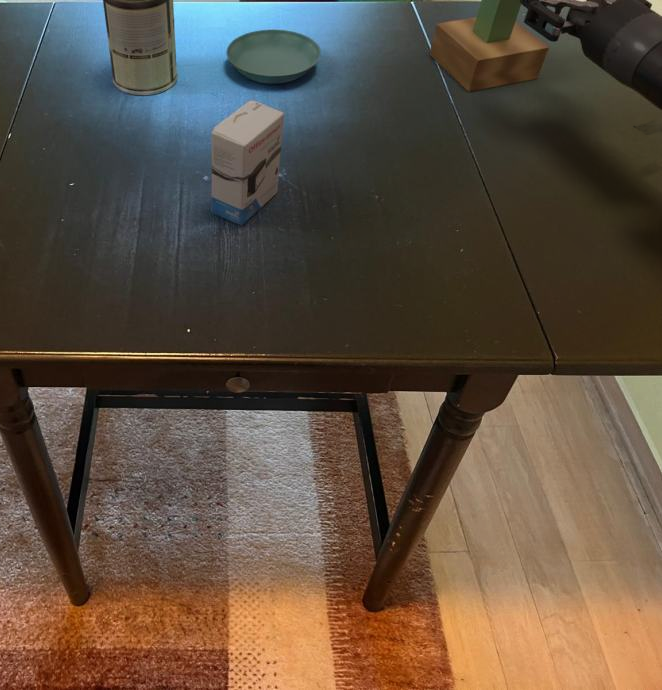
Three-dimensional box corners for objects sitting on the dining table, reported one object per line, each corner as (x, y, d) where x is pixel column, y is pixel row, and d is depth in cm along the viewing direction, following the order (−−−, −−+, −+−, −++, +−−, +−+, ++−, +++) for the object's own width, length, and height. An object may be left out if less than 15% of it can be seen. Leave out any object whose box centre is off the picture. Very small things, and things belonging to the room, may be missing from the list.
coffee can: (101, 72, 109) (88, -21, 98) (159, 56, 112) (153, -36, 101) (129, 103, 103) (119, 7, 92) (189, 84, 106) (186, -10, 95)
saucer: (292, 37, 115) (293, 21, 113) (336, 79, 106) (338, 62, 104) (211, 55, 112) (211, 39, 110) (250, 100, 103) (250, 83, 101)
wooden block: (494, 42, 113) (503, 12, 109) (537, 78, 106) (549, 47, 102) (428, 54, 111) (436, 23, 107) (468, 92, 104) (478, 60, 100)
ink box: (241, 227, 84) (244, 145, 75) (209, 212, 86) (208, 130, 77) (279, 192, 89) (286, 111, 80) (248, 179, 91) (252, 97, 82)
